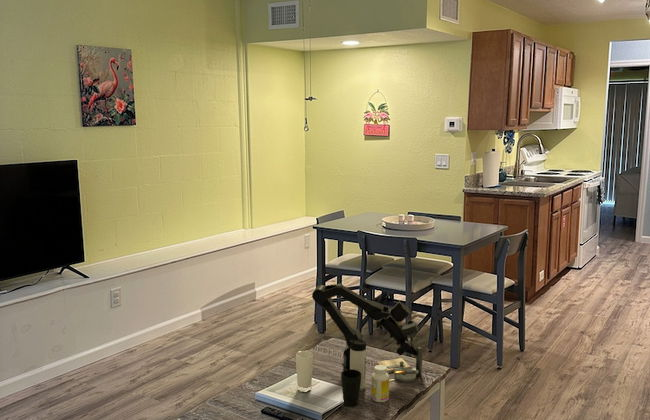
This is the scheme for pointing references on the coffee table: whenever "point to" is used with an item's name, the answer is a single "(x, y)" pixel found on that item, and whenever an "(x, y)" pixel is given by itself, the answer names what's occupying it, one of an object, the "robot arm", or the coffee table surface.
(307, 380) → the drinking glass
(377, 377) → the supplement bottle
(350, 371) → the cup
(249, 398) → the coffee table surface
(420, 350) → the grey piece
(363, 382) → the travel mug
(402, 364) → the stand
